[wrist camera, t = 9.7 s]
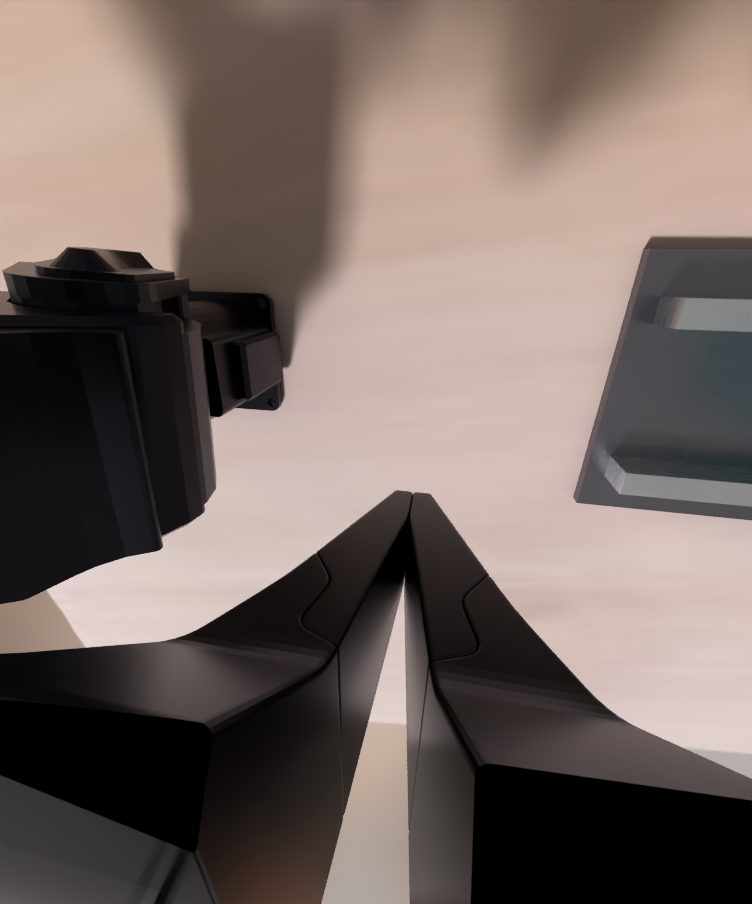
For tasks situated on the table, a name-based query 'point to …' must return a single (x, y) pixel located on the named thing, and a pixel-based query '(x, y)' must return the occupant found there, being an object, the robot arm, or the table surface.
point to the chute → (679, 391)
